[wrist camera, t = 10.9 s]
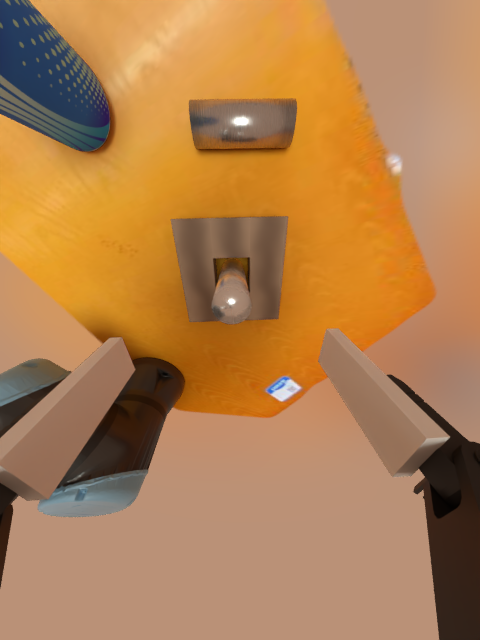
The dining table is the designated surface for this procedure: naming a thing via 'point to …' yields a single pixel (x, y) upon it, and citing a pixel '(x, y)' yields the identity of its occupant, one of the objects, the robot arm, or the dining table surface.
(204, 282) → the socket block
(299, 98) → the dining table surface
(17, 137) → the dining table surface
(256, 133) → the lying peg
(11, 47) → the beer can
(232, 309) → the peg
